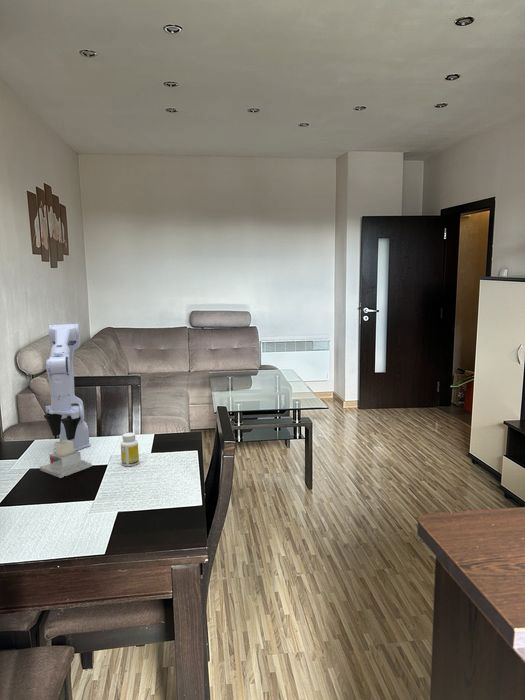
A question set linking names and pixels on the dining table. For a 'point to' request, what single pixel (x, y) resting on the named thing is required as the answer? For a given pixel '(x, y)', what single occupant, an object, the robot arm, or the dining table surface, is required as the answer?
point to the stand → (65, 464)
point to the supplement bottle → (129, 450)
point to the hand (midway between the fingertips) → (63, 437)
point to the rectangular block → (64, 448)
